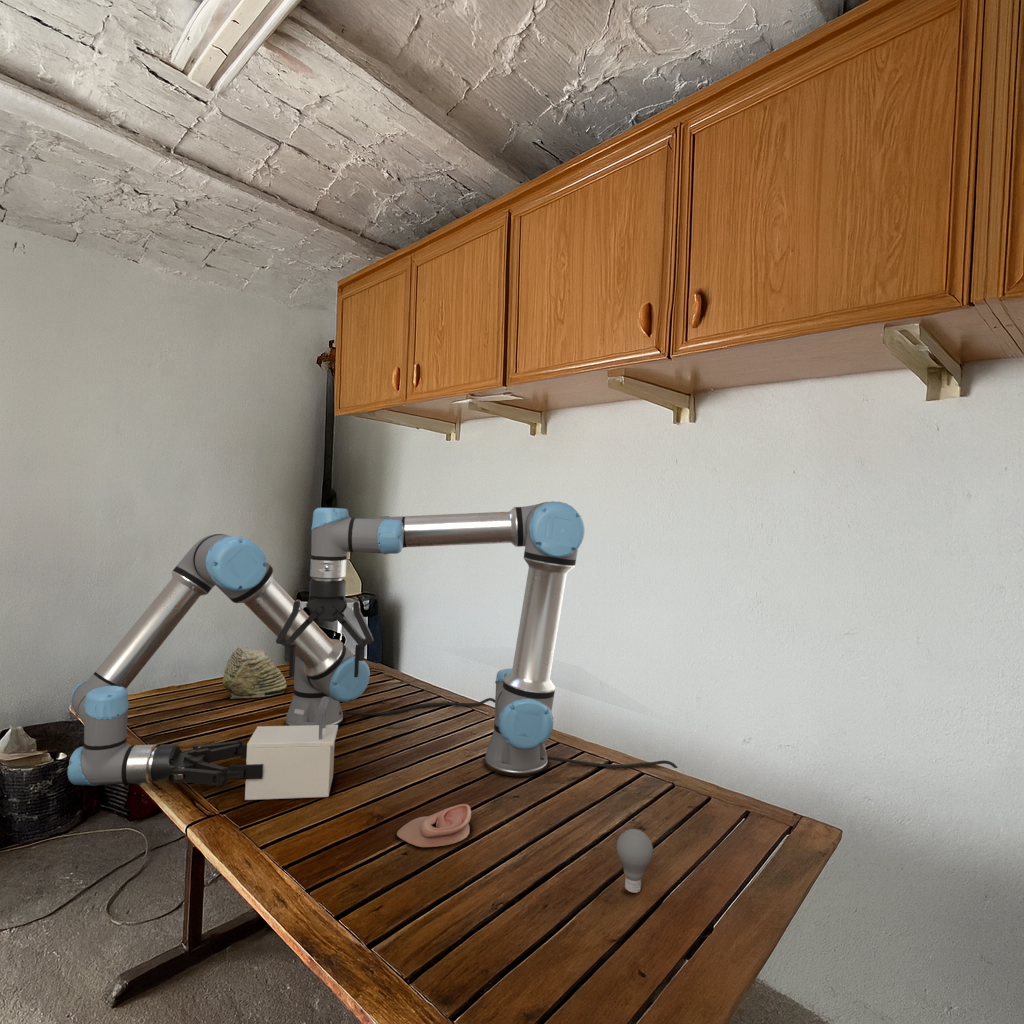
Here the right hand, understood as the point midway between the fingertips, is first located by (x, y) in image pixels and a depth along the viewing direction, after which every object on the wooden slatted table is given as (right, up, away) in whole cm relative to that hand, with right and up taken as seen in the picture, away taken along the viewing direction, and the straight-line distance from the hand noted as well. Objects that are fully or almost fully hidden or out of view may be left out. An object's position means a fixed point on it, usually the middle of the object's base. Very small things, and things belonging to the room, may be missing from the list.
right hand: (324, 675), depth 138 cm
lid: (-6, -13, -1) cm, 15 cm away
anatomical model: (+26, -26, -17) cm, 40 cm away
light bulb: (+61, -28, -32) cm, 74 cm away
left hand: (-12, -18, -2) cm, 21 cm away
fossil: (-40, -22, +60) cm, 75 cm away
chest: (-7, -24, -1) cm, 25 cm away
